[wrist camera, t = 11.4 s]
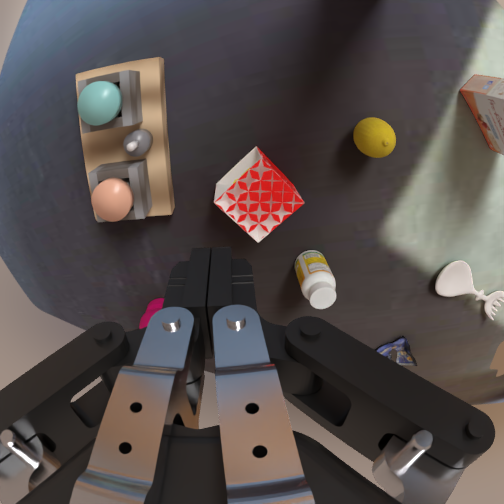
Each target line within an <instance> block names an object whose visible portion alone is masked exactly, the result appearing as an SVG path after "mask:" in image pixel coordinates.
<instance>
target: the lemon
mask: <svg viewBox="0 0 504 504" xmlns="http://www.w3.org/2000/svg"><path fill="white" fill-rule="evenodd" d="M353 138H354V142H355V144H356V146H357V148H358V149H359V150H360V151H361V152H362V153H364V154H366V155H367V156H370V157H375V158H381V157H384V156H387V155H388V154H390V153H391V152H392V151H393V149H394V147H395V144H396V137H395V133H394V131H393V129H392V128H391V127H390V125H388V124H387V123H386V122H385V121H383V120H381V119H378V118H366V119H363V120H361V121H360V122H359V123H358V124H357V125H356V126H355V129H354V133H353Z"/></svg>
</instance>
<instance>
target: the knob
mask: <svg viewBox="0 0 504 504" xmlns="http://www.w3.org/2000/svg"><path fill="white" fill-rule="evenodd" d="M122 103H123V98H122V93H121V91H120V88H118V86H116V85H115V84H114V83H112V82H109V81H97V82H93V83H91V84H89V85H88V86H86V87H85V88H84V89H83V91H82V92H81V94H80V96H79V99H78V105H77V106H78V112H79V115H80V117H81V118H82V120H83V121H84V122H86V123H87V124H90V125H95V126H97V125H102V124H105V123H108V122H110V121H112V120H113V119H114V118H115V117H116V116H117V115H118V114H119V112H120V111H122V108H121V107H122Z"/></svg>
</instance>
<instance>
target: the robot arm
mask: <svg viewBox="0 0 504 504" xmlns="http://www.w3.org/2000/svg"><path fill="white" fill-rule="evenodd" d="M213 352H214V358H215V364H216V370H215V379H216V391H217V403H218V414H219V424H220V425H217V426H213V427H208V428H204V429H199V414H200V406H201V399H202V392H203V385H204V377H205V375H204V368H205V359H207V358H213ZM99 376H100V377H101V379H102V381H101V382H100V383H98V384H97V385H96V386H94V387H93V388H92V389H91V390H89V391H88V392H87V393H85V394H84V395H83V396H81V397H80V398H79V399H77V400H76V401H74V402H71V399H72V398H73V396H74V395H75V394H77V393H78V392H79V391H81V390H82V389H83V388H85V387H86V386H87V385H89V384H90V383H91V382H93V381H94V380H95V379H97V378H98V377H99ZM284 397H285V398H286V399H287V400H288V401H289V402H291V403H292V404H293V405H294V406H296V407H297V408H298V409H300V410H301V411H302V412H304V413H305V414H306V415H308V416H309V417H310V418H311V419H313V420H314V421H315V422H317V423H318V424H320V425H321V426H322V427H324V428H325V429H326V430H328V431H329V432H330V433H332V434H333V435H335V436H336V437H337V438H339V439H341V440H342V441H343V442H345V443H346V444H347V445H349V446H350V447H352V448H353V449H355V450H356V451H358V452H359V453H361V454H362V455H364V456H365V457H367V458H368V459H370V460H371V461H373V462H374V463H373V467H372V472H373V476H374V478H375V480H376V481H377V483H378V484H379V485H381V486H382V487H383V488H384V489H385V491H386V492H385V491H383V490H382V489H380V488H379V487H377V486H376V485H375V484H373V483H372V482H370V481H369V480H368V479H366V478H365V477H363V476H362V475H361V474H359V473H358V472H357V471H355V470H354V469H353V468H351V467H350V466H349V465H347V464H346V463H345V462H343V461H342V460H340V459H339V458H338V457H337V456H335V455H334V454H333V453H332V452H330V451H329V450H328V449H327V448H325V447H324V446H323V445H321V444H320V443H319V442H317V441H316V440H314V439H312V438H310V437H308V436H306V435H304V434H302V433H299V432H296V431H293V430H292V427H291V423H290V419H289V416H288V412H287V408H286V404H285V400H284ZM70 402H71V403H70ZM494 438H495V429H494V425H493V422H492V421H491V419H490V418H489V416H487V415H486V414H485V413H484V412H482V411H480V410H478V409H477V408H475V407H473V406H471V405H470V404H468V403H466V402H464V401H462V400H461V399H459V398H457V397H455V396H454V395H452V394H450V393H448V392H446V391H445V390H443V389H441V388H439V387H438V386H436V385H434V384H432V383H431V382H429V381H427V380H425V379H424V378H422V377H420V376H418V375H417V374H415V373H413V372H411V371H410V370H408V369H406V368H404V367H403V366H401V365H399V364H397V363H396V362H394V361H392V360H391V359H389V358H387V357H385V356H384V355H382V354H380V353H379V352H377V351H375V350H373V349H372V348H370V347H368V346H367V345H365V344H363V343H362V342H360V341H358V340H356V339H355V338H353V337H351V336H350V335H348V334H346V333H345V332H343V331H341V330H340V329H338V328H336V327H335V326H333V325H331V324H330V323H328V322H326V321H325V320H323V319H320V318H317V317H311V316H306V317H300V318H297V319H295V320H293V321H292V322H290V323H289V325H288V326H287V327H286V326H280V325H275V324H272V323H269V322H267V321H266V320H264V319H263V318H262V317H261V316H260V315H259V314H258V312H257V308H256V299H255V291H254V283H253V274H252V266H251V265H250V264H249V263H248V261H247V260H246V259H232V255H231V247H214V248H212V250H211V248H193V249H192V251H191V256H190V261H185V262H179V263H178V264H177V265H176V266H175V267H174V268H173V269H172V271H171V275H170V279H169V282H168V287H167V290H166V294H165V298H164V302H163V305H162V309H161V310H159V311H158V312H156V313H155V314H154V315H153V316H152V317H151V319H150V321H149V323H148V326H147V327H144V328H142V329H138V330H134V331H129V332H125V331H124V329H123V327H122V326H121V325H119V324H118V323H115V322H102V323H99V324H96V325H94V326H93V327H91V328H90V329H88V330H87V331H85V332H84V333H82V334H81V335H79V336H78V337H77V338H75V339H73V340H72V341H71V342H69V343H68V344H66V345H65V346H63V347H62V348H60V349H59V350H57V351H56V352H55V353H53V354H52V355H50V356H49V357H47V358H46V359H44V360H43V361H42V362H40V363H39V364H37V365H36V366H34V367H33V368H32V369H30V370H29V371H27V372H26V373H25V374H23V375H22V376H20V377H19V378H18V379H16V380H15V381H13V382H12V383H10V384H9V385H8V386H6V387H5V388H3V389H2V390H1V391H0V501H1V503H2V504H445V503H446V501H447V500H448V498H449V496H450V495H451V493H452V491H453V490H454V488H455V486H456V484H457V482H458V480H459V479H460V477H461V475H462V473H463V471H464V469H465V468H466V467H468V466H469V465H470V464H471V463H472V462H474V461H475V460H476V459H477V458H478V457H480V456H481V455H482V454H483V453H485V452H486V451H487V450H488V449H489V448H490V447H491V445H492V444H493V441H494Z"/></svg>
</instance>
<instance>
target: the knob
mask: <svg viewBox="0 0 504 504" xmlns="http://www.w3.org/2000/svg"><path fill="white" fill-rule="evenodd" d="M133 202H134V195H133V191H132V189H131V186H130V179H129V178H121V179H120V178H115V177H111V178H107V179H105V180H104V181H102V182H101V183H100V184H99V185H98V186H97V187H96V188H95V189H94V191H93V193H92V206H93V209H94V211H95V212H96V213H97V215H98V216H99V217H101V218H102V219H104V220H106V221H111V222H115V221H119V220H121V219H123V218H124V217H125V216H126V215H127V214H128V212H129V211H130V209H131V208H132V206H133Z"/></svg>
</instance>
